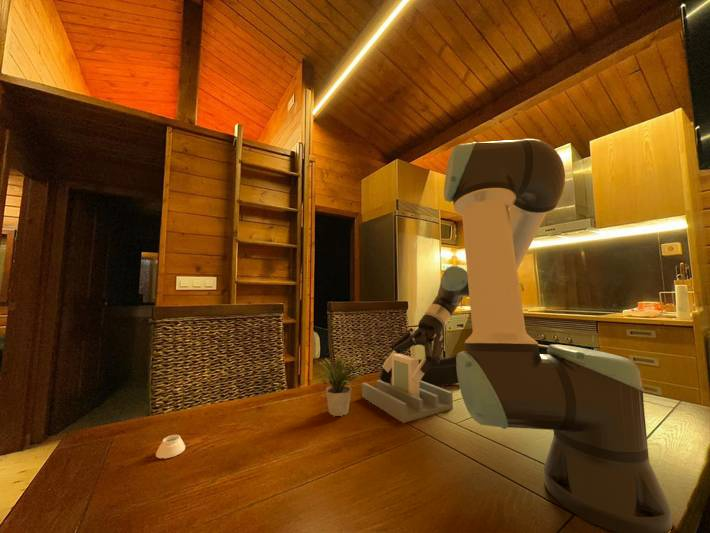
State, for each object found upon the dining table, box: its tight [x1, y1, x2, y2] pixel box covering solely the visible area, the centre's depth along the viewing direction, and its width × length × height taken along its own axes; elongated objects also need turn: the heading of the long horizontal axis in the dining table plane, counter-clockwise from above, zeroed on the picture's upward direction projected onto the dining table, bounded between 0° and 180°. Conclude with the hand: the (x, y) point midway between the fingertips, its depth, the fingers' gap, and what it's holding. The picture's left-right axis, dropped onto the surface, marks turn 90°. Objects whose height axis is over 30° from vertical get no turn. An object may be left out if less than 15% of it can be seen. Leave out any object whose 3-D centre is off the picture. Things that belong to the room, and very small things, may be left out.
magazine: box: [379, 354, 459, 387], centre depth 101 cm, size 17×3×30 cm
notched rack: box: [361, 378, 454, 424], centre depth 85 cm, size 18×20×4 cm
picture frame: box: [392, 353, 420, 398], centre depth 85 cm, size 3×9×12 cm, turn 30°
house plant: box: [318, 350, 366, 417], centre depth 77 cm, size 14×14×16 cm
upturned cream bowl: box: [155, 434, 186, 459], centre depth 58 cm, size 5×3×5 cm
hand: (398, 374), depth 84 cm, fingers open, 13 cm apart
